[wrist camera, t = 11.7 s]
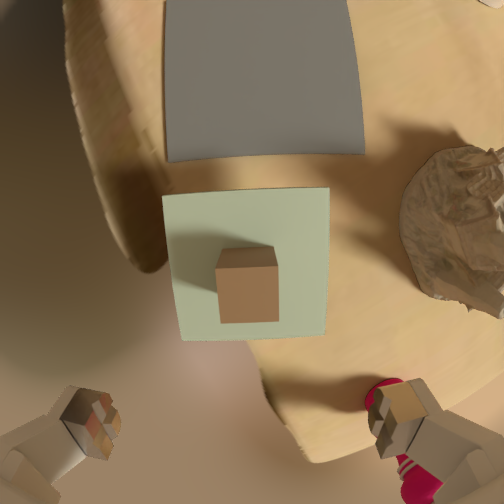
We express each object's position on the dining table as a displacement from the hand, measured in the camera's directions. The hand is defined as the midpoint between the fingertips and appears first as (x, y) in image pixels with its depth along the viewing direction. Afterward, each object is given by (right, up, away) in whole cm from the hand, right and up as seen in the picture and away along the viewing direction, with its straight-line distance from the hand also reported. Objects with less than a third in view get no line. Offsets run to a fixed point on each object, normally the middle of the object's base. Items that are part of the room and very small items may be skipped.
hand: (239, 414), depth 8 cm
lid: (0, +4, +13) cm, 14 cm away
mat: (+1, +22, +15) cm, 27 cm away
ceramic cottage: (+23, +8, +20) cm, 31 cm away
